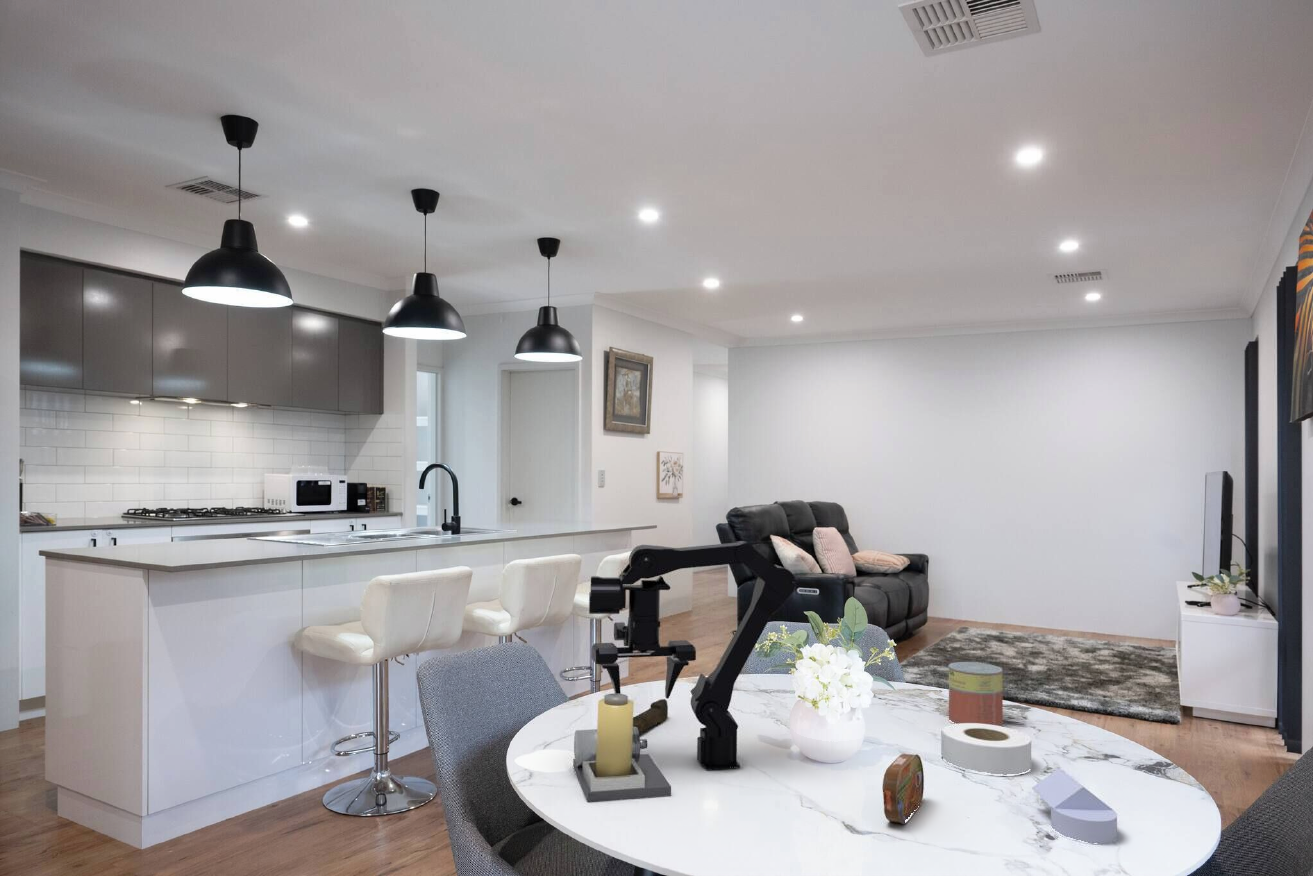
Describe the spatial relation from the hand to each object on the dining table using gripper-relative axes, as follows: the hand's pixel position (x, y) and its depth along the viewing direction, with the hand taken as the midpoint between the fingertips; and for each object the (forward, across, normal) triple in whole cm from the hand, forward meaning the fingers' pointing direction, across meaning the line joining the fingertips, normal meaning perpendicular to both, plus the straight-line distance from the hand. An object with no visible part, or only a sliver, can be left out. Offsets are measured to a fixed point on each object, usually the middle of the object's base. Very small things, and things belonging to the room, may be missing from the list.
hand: (642, 699), depth 157 cm
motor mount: (+12, +6, +7) cm, 15 cm away
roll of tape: (+12, -64, +11) cm, 66 cm away
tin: (+12, -36, +30) cm, 48 cm away
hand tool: (+12, -6, -23) cm, 27 cm away
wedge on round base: (+12, -60, +40) cm, 73 cm away
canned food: (+12, -78, -13) cm, 80 cm away
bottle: (+10, +7, +11) cm, 17 cm away
